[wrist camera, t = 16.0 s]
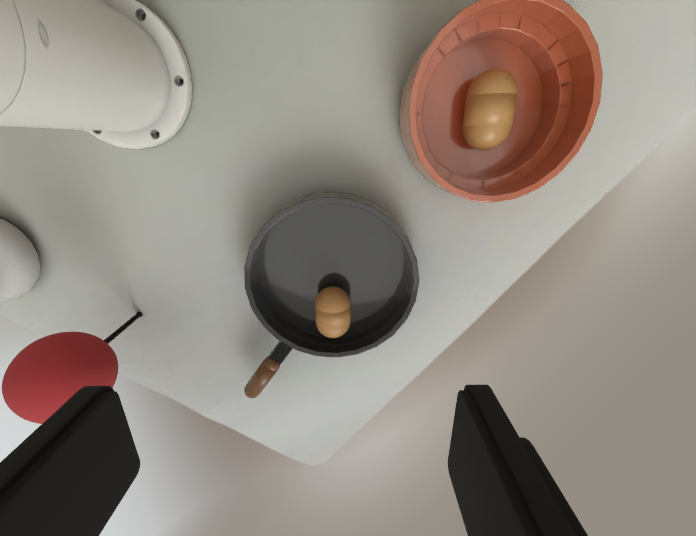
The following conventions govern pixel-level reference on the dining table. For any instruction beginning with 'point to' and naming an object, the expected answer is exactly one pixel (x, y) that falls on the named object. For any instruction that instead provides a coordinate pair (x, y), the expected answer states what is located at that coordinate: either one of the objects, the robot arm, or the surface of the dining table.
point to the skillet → (331, 272)
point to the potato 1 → (332, 311)
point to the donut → (16, 262)
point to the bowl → (531, 104)
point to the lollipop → (58, 371)
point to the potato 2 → (489, 109)
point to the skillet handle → (267, 370)
